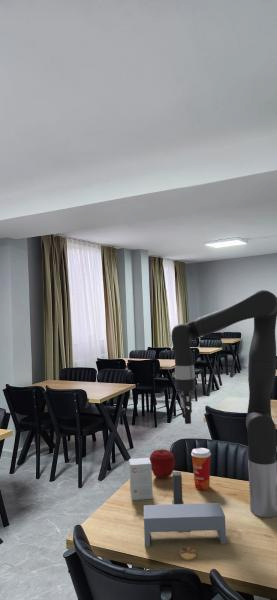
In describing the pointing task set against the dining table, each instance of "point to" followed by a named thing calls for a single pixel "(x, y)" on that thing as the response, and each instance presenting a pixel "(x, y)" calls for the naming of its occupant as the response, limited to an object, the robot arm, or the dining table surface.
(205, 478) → the paper cup
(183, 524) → the shelf
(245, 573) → the dining table surface
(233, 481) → the dining table surface
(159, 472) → the apple
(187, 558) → the token
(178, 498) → the grey l-shaped bracket
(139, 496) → the small box
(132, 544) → the dining table surface
